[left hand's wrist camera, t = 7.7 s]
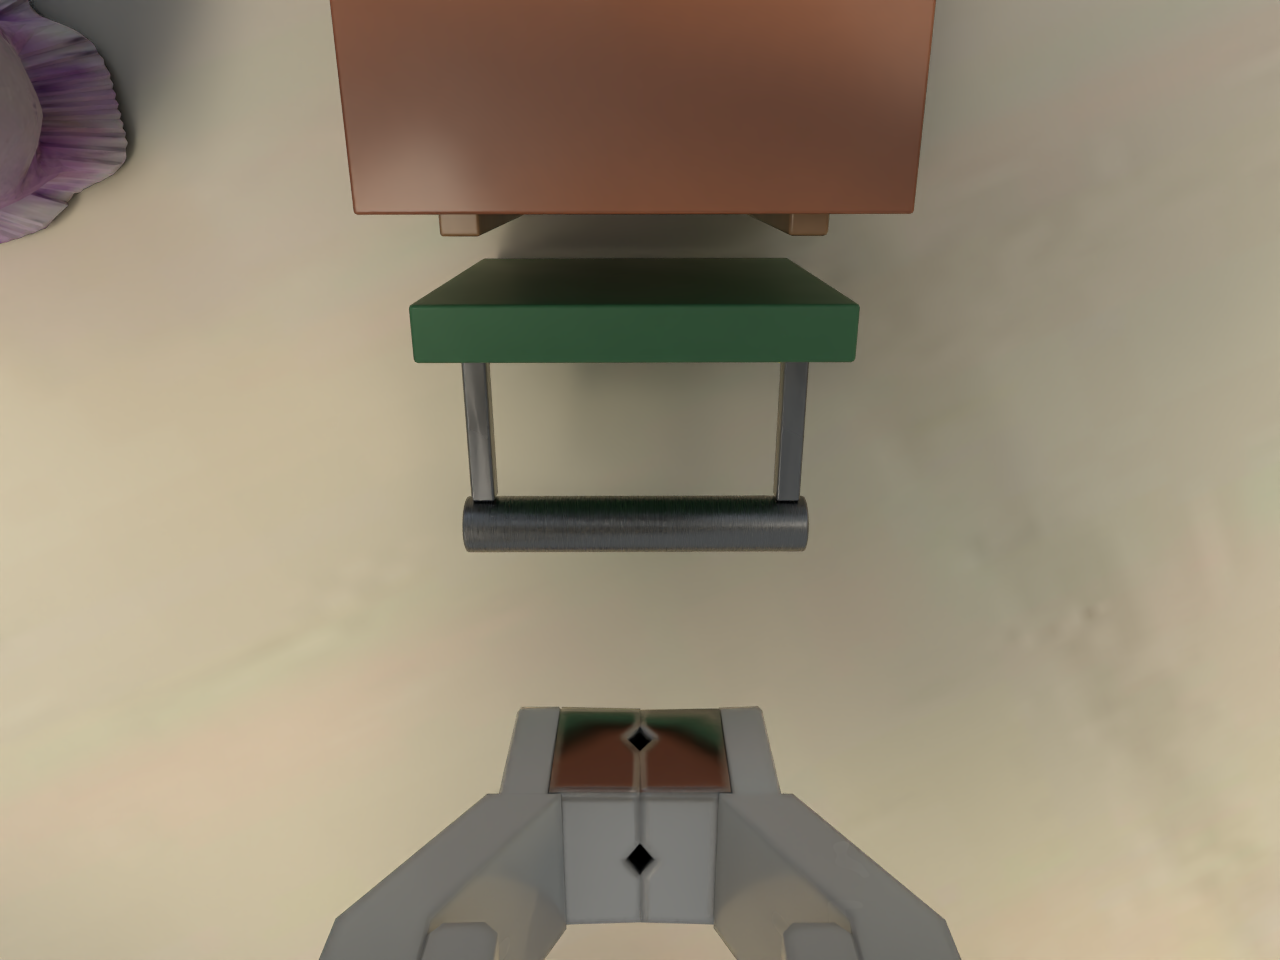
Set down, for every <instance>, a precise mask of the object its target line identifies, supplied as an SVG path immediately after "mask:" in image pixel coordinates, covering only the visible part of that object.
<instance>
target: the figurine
mask: <svg viewBox="0 0 1280 960" xmlns="http://www.w3.org/2000/svg"><path fill="white" fill-rule="evenodd" d="M110 75H111V74H110V73H109V71H108V70H107V68H106V67H105V65H104V59H103V58H102V57H101V56H100V55H99V54H98V52H97V49H96V47H95V45H94V44H93V43H92V42H91V41H89V40H88V39H87V38H86V37H84V36H83V35H82V34H81V33H79V32H78V31H76V30H74V29H72V28H70V27H68V26H65V25H63V24H60V23H57V22H55V21H52V20H49V19H47V18H44V17H42V16H40V15H38V14H37V12H36V11H35V10H34V9H33V8H32V7H31V6H30V4H29V1H28V0H0V243H4V242H8V241H11V240H14V239H17V238H21V237H23V236H24V235H27V234H31V233H35V232H36V231H38V230H41V229H44V228H46V227H47V226H48V225H49V224H50V223H51V222H52V220H53V219H54V218H55V217H56V216H57V215H58V214H59V213H60V212H62V211H63V210H64V209H65V208H66V207H67V206H68V201H69V200H70V199H71V198H72V196H73V194H74V193H79V192H81V191H82V190H83V189H84V188H87V187H89V186H91V185H93V184H95V183H97V182H100V181H102V180H104V179H105V178H107V177H109V176H111V175H112V174H114V173H115V172H116V171H117V170H118V169H119V168H120V167H121V165H122V164H123V163H124V162H125V160H126V146H127V144H128V142H127V140H126V139H125V136H126V132H125V131H124V130H123V124H124V123H123V122H122V121H121V120H120V116H121V113H120V112H119V111H118V109H117V108H118V105H119V104H118V102H117V101H116V100H115V97H116V93H115V92H114V91H113V89H112V88H113V83H112V81H111V80H110Z"/></svg>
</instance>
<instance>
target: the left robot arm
mask: <svg viewBox="0 0 1280 960" xmlns="http://www.w3.org/2000/svg"><path fill="white" fill-rule="evenodd" d="M629 922H649V923H684V924H714V929H715V930H716V932H717V933H718V934H719V936H720V937H721V939H722V940H723V941H724V943H725V944H726V946H727V947H728V948H729V950H730V951H731V952H732V954H733V955H734V957H735V958H736V959H737V960H961V958H960V955H959V953H958V950H957V948H956V945H955V943H954V940H953V938H952V936H951V933H950V931H949V928H948V926H947V923H946V921H945V919H943V918H942V917H941V916H940V915H939V914H937V913H936V912H935V911H934V910H932V909H931V908H930V907H929V906H928V905H926V904H925V903H924V902H923V901H922V900H920V899H919V898H918V897H917V896H916V895H914V894H913V893H912V892H911V891H910V890H908V889H907V888H906V887H905V886H904V885H902V884H901V883H900V882H899V881H898V880H896V879H895V878H894V877H893V876H891V875H890V874H889V873H888V872H887V871H885V870H884V869H883V868H882V867H881V866H879V865H878V864H877V863H876V862H875V861H873V860H872V859H871V858H870V857H869V856H867V855H866V854H865V853H864V852H863V851H861V850H860V849H859V848H858V847H856V846H855V845H854V844H853V843H852V842H850V841H849V840H848V839H847V838H846V837H844V836H843V835H842V834H841V833H840V832H838V831H837V830H836V829H835V828H834V827H832V826H831V825H830V824H829V823H828V822H826V821H825V820H824V819H823V818H822V817H820V816H819V815H818V814H817V813H815V812H814V811H813V810H812V809H811V808H809V807H808V806H807V805H806V804H805V803H803V802H802V801H801V800H800V799H799V798H797V797H796V796H795V795H794V794H781V791H780V787H779V782H778V778H777V774H776V769H775V765H774V761H773V756H772V752H771V748H770V743H769V739H768V734H767V730H766V726H765V721H764V717H763V713H762V710H761V709H760V708H759V707H758V706H753V707H723V708H719V709H651V710H640V709H632V708H585V707H562V709H561V708H559V707H521V709H520V710H519V711H518V713H517V716H516V721H515V725H514V729H513V734H512V738H511V743H510V747H509V751H508V756H507V760H506V765H505V769H504V773H503V778H502V782H501V787H500V791H499V794H486V795H485V796H484V797H483V798H481V799H480V800H479V801H478V802H477V803H475V804H474V805H473V806H472V807H471V808H469V809H468V810H467V811H466V812H464V813H463V814H462V815H461V816H460V817H458V818H457V819H456V820H455V821H454V822H452V823H451V824H450V825H449V826H448V827H446V828H445V829H444V830H443V831H441V832H440V833H439V834H438V835H437V836H435V837H434V838H433V839H432V840H431V841H429V842H428V843H427V844H426V845H424V846H423V847H422V848H421V849H420V850H418V851H417V852H416V853H415V854H414V855H412V856H411V857H410V858H409V859H408V860H406V861H405V862H404V863H403V864H401V865H400V866H399V867H398V868H397V869H395V870H394V871H393V872H392V873H391V874H389V875H388V876H387V877H386V878H384V879H383V880H382V881H381V882H380V883H378V884H377V885H376V886H375V887H374V888H372V889H371V890H370V891H369V892H367V893H366V894H365V895H364V896H363V897H361V898H360V899H359V900H358V901H357V902H355V903H354V904H353V905H352V906H351V907H349V908H348V909H347V910H346V911H344V912H343V913H342V914H341V915H340V916H338V917H337V918H336V919H335V922H334V924H333V927H332V929H331V932H330V934H329V936H328V939H327V941H326V944H325V946H324V949H323V951H322V953H321V956H320V958H319V960H544V959H545V957H546V956H547V955H548V953H549V952H550V951H551V949H552V948H553V946H554V945H555V944H556V942H557V941H558V940H559V938H560V937H561V935H562V934H563V933H564V931H565V930H566V924H595V923H629Z"/></svg>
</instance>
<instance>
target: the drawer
mask: <svg viewBox="0 0 1280 960" xmlns="http://www.w3.org/2000/svg"><path fill="white" fill-rule="evenodd" d="M522 215H524V214H449V215H439V225H440V234H441V235H442V236H479V235H481V234H484V233H486V232H488V231H490V230H492V229H494V228H496V227H499V226H501V225H503V224H505V223H507V222H509V221H511V220H513V219H516V218H518V217H520V216H522ZM748 215H750V216H752V217H754V218H756V219H758V220H760V221H762V222H764V223H767V224H769V225H771V226H773V227H775V228H777V229H779V230H781V231H783V232H785V233H787V234H789V235H792V236H823V235H826V234H827V232H828V225H829V214H748ZM859 310H860V307H859V305H858V304H857V303H855V302H854V301H852V300H851V299H849V298H847V297H846V296H844V295H843V294H841V293H840V292H838V291H837V290H835V289H834V288H832V287H831V286H829V285H827V284H826V283H824V282H823V281H821V280H820V279H818V278H817V277H815V276H814V275H812V274H810V273H809V272H807V271H806V270H804V269H803V268H801V267H800V266H798V265H797V264H795V263H794V262H792V261H790V260H789V259H787V258H570V259H483V260H481V261H480V262H478V263H476V264H475V265H473V266H472V267H470V268H469V269H467V270H465V271H464V272H462V273H461V274H459V275H458V276H456V277H454V278H453V279H451V280H450V281H448V282H446V283H445V284H443V285H442V286H440V287H439V288H437V289H435V290H434V291H432V292H431V293H429V294H428V295H426V296H424V297H423V298H421V299H420V300H418V301H417V302H415V303H413V304H412V305H410V307H409V313H410V324H411V334H412V345H413V355H414V360H415V362H417V363H461V364H462V377H463V390H464V403H465V417H466V430H467V443H468V456H469V469H470V482H471V496H469V497H468V498H467V499H466V501H465V505H464V510H463V540H464V545H465V548H466V550H467V551H468V552H724V551H804V550H805V548H806V545H807V541H808V531H809V519H808V508H807V503H806V500H805V498H804V497H803V496H800V484H801V470H802V455H803V441H804V426H805V412H806V397H807V383H808V368H809V362H852V361H854V360H855V356H856V344H857V333H858V321H859ZM650 362H781V366H780V383H779V401H778V418H777V436H776V453H775V471H774V488H773V493H774V495H775V496H497V493H498V487H497V471H496V456H495V440H494V424H493V409H492V393H491V378H490V363H650Z"/></svg>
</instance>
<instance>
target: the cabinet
mask: <svg viewBox="0 0 1280 960" xmlns="http://www.w3.org/2000/svg"><path fill="white" fill-rule="evenodd" d="M935 5H936V0H330V7H331V15H332V24H333V33H334V42H335V51H336V59H337V68H338V77H339V86H340V95H341V103H342V112H343V121H344V130H345V139H346V147H347V156H348V165H349V174H350V183H351V191H352V200H353V209H354V213H355V214H357V215H449V214H911V213H913V211H914V203H915V194H916V185H917V175H918V166H919V156H920V147H921V137H922V128H923V119H924V109H925V100H926V90H927V81H928V71H929V62H930V53H931V43H932V34H933V24H934V15H935Z"/></svg>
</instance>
